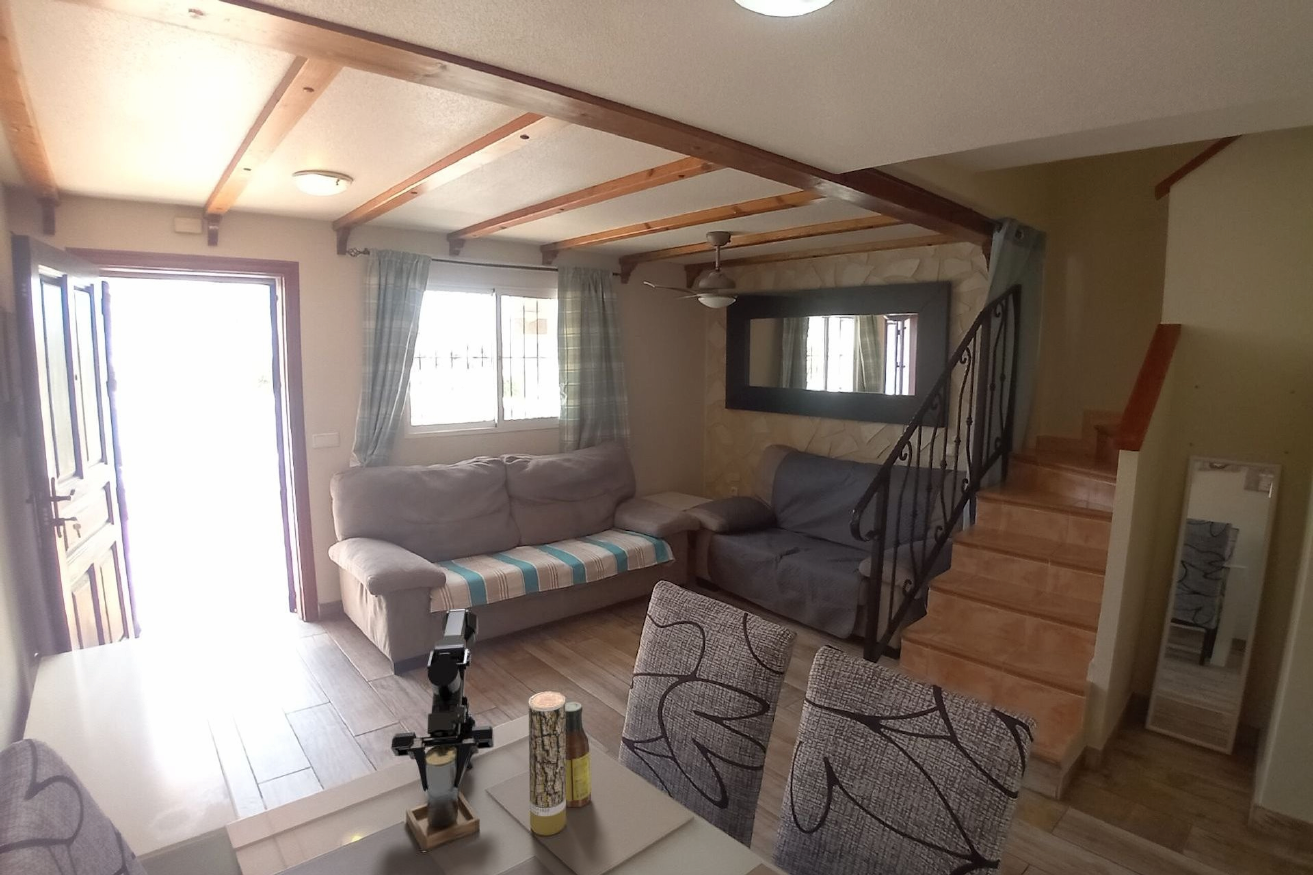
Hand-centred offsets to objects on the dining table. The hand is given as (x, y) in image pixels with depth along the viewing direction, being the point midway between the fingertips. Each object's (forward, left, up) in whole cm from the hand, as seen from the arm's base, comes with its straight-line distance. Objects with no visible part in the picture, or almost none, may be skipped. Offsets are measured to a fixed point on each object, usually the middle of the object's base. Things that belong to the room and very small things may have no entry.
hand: (440, 788), depth 126 cm
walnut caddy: (-1, -1, -8) cm, 8 cm away
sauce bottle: (-25, +6, -8) cm, 27 cm away
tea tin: (-1, -1, -7) cm, 7 cm away
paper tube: (-17, +10, -8) cm, 22 cm away
